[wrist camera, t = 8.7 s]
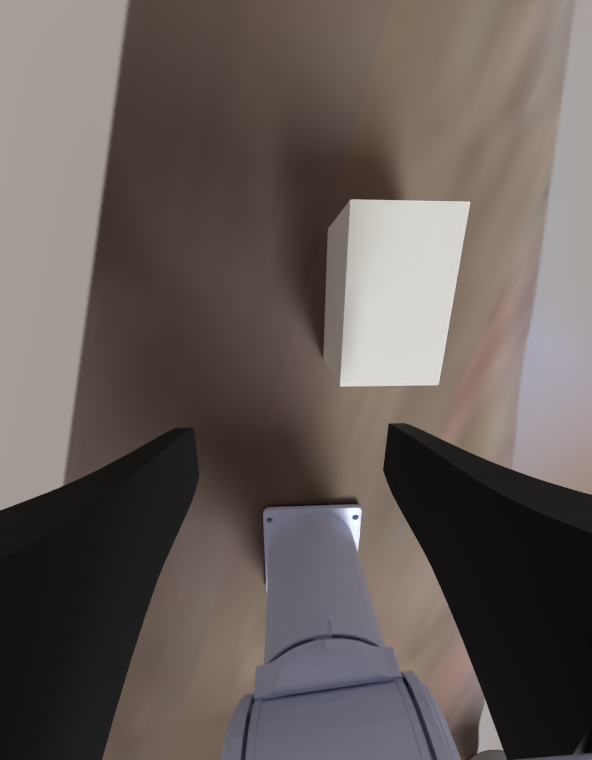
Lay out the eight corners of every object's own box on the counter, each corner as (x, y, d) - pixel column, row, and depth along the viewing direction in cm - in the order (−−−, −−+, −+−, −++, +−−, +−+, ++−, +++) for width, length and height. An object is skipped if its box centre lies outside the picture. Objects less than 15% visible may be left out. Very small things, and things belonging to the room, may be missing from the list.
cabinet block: (394, 358, 19) (438, 385, 14) (323, 359, 19) (340, 386, 14) (409, 230, 17) (470, 201, 11) (327, 229, 17) (350, 199, 11)
